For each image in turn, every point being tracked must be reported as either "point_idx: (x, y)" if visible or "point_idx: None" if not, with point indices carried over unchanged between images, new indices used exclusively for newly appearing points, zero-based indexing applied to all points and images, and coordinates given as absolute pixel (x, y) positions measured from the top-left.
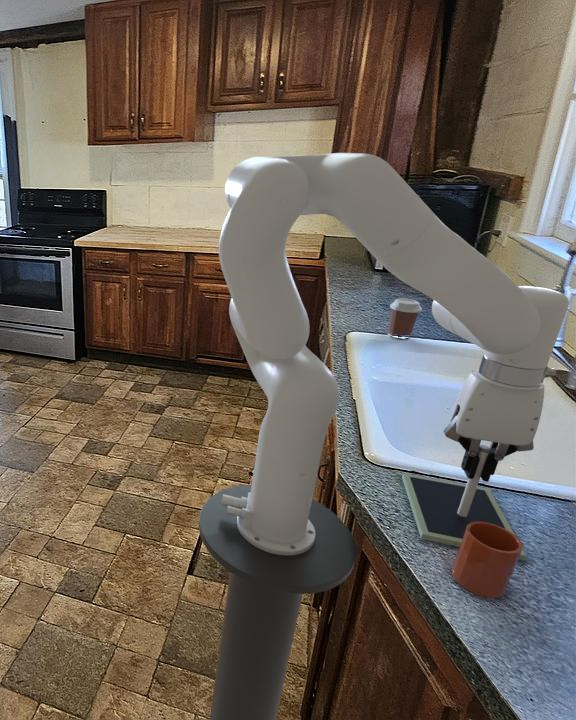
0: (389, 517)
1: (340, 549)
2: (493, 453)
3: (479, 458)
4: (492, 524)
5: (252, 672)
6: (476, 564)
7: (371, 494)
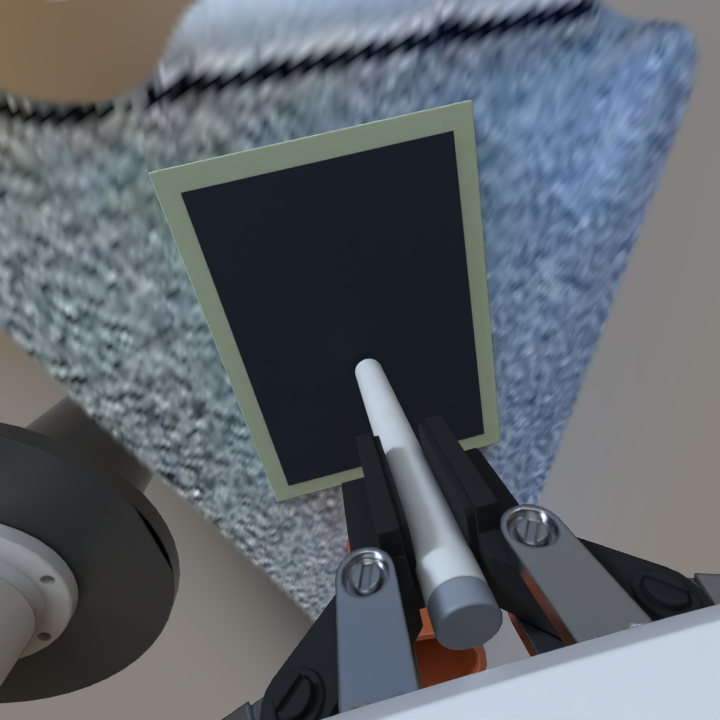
0: (189, 451)
1: (134, 563)
2: (512, 614)
3: (424, 605)
4: (429, 635)
5: None
6: None
7: (103, 368)
